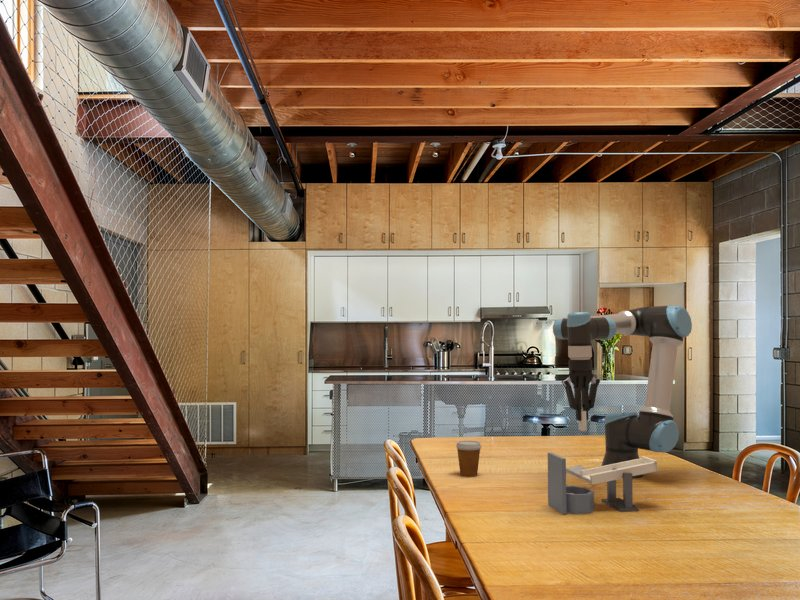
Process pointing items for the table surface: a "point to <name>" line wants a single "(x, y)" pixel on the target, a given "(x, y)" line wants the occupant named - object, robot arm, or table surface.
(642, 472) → the lever
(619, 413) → the robot arm
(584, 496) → the cup
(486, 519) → the table surface
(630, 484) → the trough stand
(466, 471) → the disposable coffee cup
